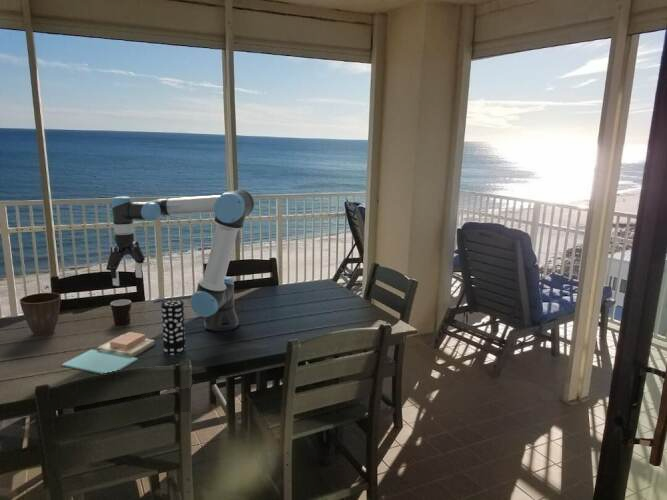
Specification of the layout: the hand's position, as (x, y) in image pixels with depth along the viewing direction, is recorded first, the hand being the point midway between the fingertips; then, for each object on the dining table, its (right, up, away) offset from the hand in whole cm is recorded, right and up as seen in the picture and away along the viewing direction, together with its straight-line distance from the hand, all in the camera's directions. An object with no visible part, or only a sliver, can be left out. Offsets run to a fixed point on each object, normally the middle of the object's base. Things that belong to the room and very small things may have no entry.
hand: (127, 281), depth 208 cm
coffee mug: (-7, -20, +13) cm, 25 cm away
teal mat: (+2, -29, -28) cm, 40 cm away
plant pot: (-35, -22, -2) cm, 42 cm away
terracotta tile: (+6, -24, -14) cm, 29 cm away
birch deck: (+6, -26, -15) cm, 31 cm away
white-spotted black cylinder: (+26, -27, -16) cm, 40 cm away
